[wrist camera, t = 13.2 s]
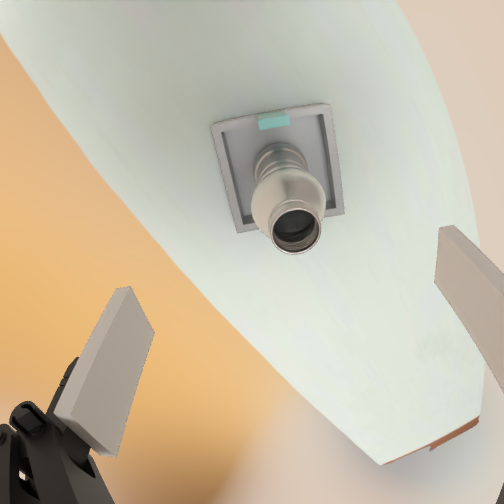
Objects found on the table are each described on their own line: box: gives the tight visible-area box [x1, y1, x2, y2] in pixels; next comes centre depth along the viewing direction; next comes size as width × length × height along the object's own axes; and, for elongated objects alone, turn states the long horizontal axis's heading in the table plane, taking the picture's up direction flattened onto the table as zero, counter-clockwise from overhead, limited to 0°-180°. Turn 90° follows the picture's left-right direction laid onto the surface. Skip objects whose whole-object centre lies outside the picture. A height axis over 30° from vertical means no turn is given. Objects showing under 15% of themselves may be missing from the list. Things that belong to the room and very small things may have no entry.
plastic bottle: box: [251, 143, 326, 254], centre depth 31 cm, size 6×7×20 cm
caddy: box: [210, 103, 345, 233], centre depth 36 cm, size 14×14×10 cm
